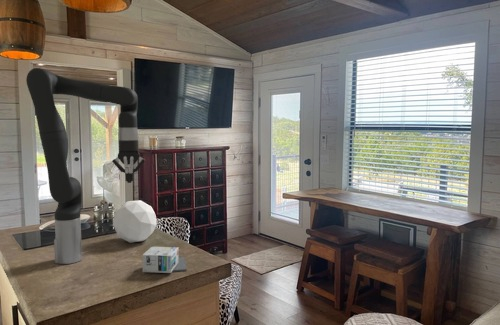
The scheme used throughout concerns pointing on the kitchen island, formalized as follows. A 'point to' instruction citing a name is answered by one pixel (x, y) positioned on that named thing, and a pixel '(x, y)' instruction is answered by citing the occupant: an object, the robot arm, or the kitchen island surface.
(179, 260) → the mat
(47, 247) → the kitchen island surface
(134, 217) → the ball
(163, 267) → the light bulb box
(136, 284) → the kitchen island surface
